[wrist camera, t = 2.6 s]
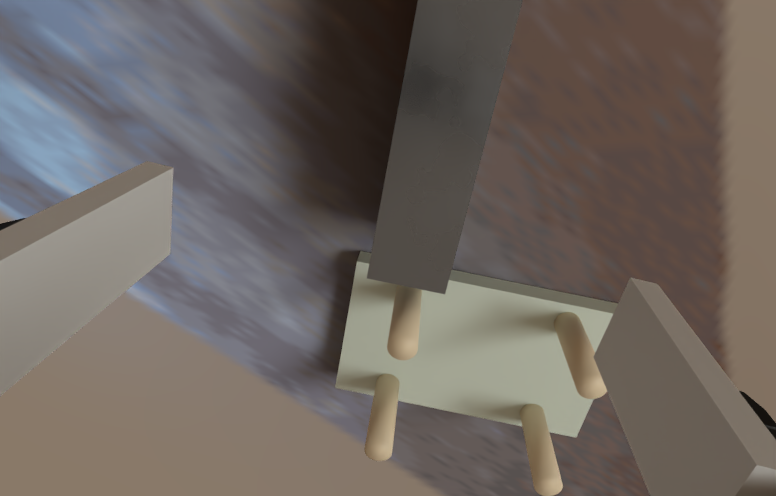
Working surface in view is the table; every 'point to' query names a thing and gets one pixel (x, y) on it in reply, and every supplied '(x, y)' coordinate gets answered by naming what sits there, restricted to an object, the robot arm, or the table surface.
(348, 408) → the table surface
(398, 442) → the table surface
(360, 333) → the peg rack
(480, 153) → the long grey bar
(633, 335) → the robot arm
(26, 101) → the table surface
